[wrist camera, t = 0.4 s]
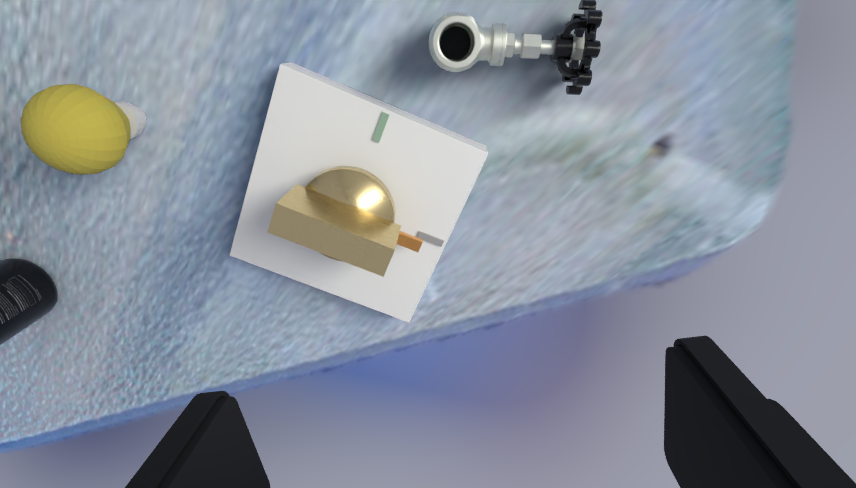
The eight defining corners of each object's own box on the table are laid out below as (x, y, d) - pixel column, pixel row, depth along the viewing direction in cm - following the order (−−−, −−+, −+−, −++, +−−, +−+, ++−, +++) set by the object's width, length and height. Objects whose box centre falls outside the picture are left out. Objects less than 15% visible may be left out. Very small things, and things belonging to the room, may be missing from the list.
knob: (289, 228, 41) (257, 264, 35) (315, 145, 38) (286, 167, 32) (405, 273, 43) (397, 316, 36) (439, 196, 40) (437, 228, 33)
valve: (428, 84, 40) (569, 91, 39) (424, 90, 33) (591, 99, 33) (432, -4, 37) (582, 4, 37) (429, -14, 31) (610, -5, 31)
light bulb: (117, 162, 43) (27, 192, 34) (81, 88, 41) (-26, 99, 31) (182, 147, 42) (109, 174, 33) (151, 70, 40) (61, 77, 31)
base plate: (242, 243, 46) (228, 256, 43) (292, 62, 39) (279, 63, 36) (411, 306, 48) (408, 323, 45) (485, 145, 41) (488, 153, 38)
